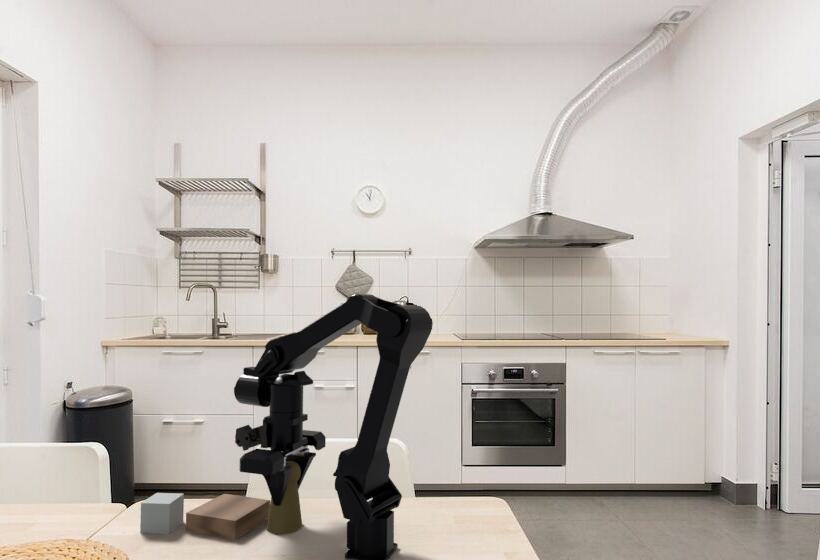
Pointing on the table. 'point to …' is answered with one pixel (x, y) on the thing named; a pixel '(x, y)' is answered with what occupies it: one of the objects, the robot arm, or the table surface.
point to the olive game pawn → (287, 506)
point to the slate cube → (162, 513)
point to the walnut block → (227, 516)
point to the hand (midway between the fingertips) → (285, 500)
